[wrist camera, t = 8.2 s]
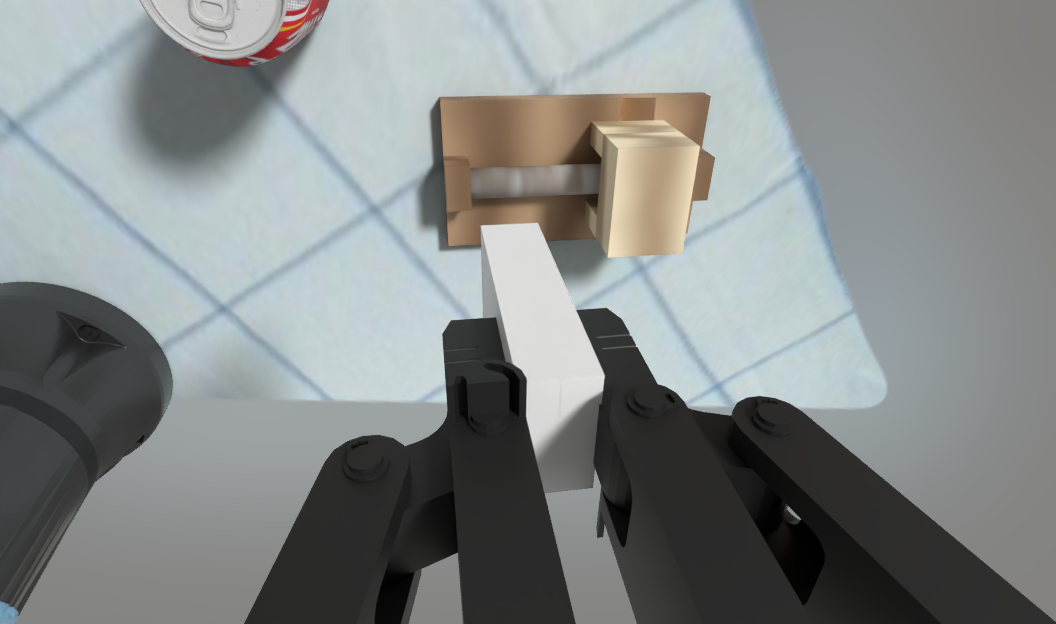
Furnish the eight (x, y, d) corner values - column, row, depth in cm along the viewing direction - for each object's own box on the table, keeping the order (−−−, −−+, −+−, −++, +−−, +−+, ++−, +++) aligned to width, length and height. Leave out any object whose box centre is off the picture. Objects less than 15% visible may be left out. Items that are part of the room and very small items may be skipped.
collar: (584, 219, 44) (607, 257, 38) (591, 121, 40) (618, 148, 35) (650, 216, 44) (682, 253, 39) (663, 119, 41) (700, 146, 35)
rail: (447, 239, 44) (450, 260, 41) (439, 97, 39) (441, 109, 36) (681, 227, 46) (699, 246, 44) (703, 92, 41) (725, 104, 38)
